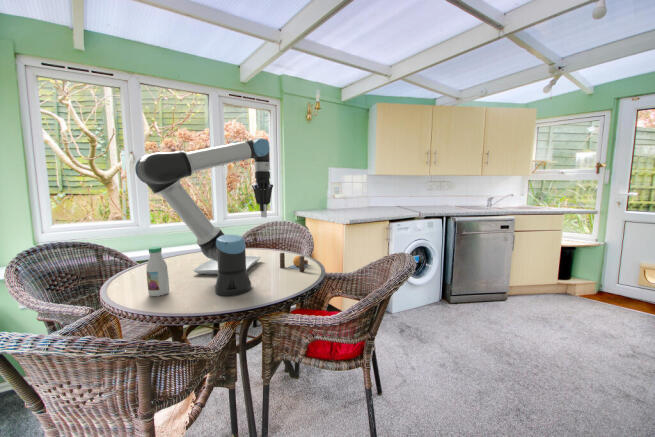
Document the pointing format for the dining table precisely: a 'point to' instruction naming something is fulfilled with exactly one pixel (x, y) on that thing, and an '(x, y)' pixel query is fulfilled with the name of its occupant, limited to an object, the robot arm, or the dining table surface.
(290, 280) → the dining table surface
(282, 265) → the post left
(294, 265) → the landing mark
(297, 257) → the ball
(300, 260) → the post right
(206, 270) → the square plate
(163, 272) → the milk bottle
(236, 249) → the robot arm
